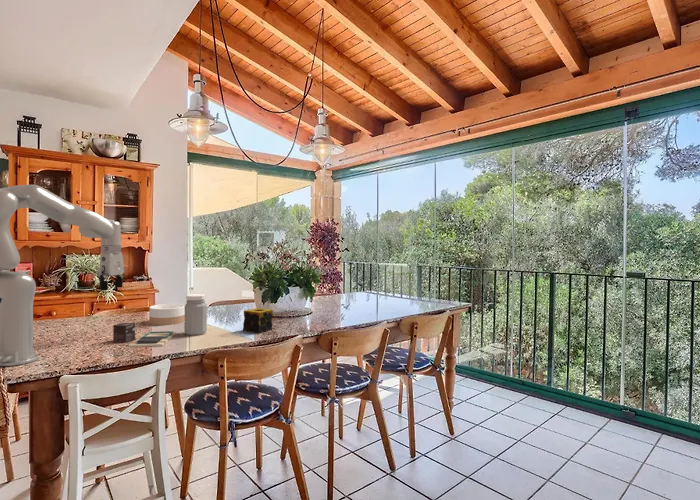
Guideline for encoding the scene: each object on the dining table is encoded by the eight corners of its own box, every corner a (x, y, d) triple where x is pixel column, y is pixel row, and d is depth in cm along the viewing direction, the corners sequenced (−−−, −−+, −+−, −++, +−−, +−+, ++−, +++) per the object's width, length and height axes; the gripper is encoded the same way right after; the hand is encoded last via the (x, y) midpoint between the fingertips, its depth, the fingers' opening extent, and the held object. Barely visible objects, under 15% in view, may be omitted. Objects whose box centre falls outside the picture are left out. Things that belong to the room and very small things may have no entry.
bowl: (192, 321, 221) (192, 305, 221) (162, 326, 206) (162, 310, 206) (172, 317, 230) (172, 302, 230) (142, 322, 215) (142, 306, 215)
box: (125, 343, 174) (125, 325, 174) (112, 342, 175) (112, 324, 175) (135, 339, 180) (135, 322, 180) (123, 338, 181) (123, 322, 181)
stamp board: (162, 346, 170) (162, 341, 170) (128, 347, 168) (128, 342, 168) (176, 333, 191) (176, 329, 191) (146, 334, 189) (146, 330, 189)
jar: (197, 330, 199) (197, 292, 199) (211, 332, 194) (211, 294, 194) (179, 334, 191) (179, 295, 190) (193, 336, 186) (194, 296, 185)
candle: (242, 331, 199) (242, 310, 199) (256, 327, 208) (256, 307, 208) (259, 333, 194) (259, 312, 194) (272, 329, 203) (273, 309, 203)
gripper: (105, 250, 171) (106, 291, 172) (131, 248, 189) (131, 286, 189) (88, 250, 172) (89, 291, 173) (115, 248, 189) (116, 286, 190)
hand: (111, 288), depth 181 cm, fingers open, 9 cm apart
